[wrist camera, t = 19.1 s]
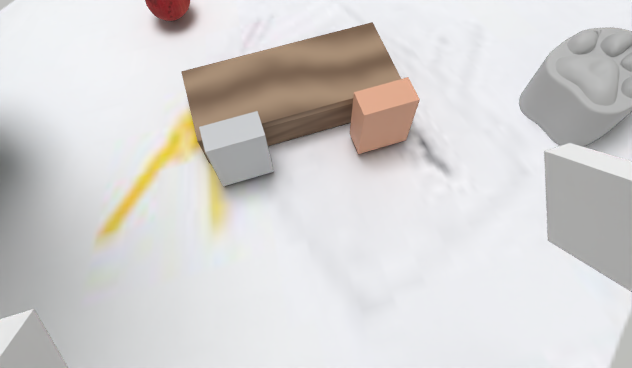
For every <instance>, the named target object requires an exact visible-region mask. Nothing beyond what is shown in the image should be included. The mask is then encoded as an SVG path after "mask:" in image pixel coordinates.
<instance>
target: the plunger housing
mask: <svg viewBox="0 0 632 368" xmlns="http://www.w3.org/2000/svg"><path fill="white" fill-rule="evenodd" d="M182 76H183V80H184V85H185V89H186V93H187V97H188V102H189V106H190V110H191V115H192V119H193V123H194V127H195V132H196V136H197V140H198V143H199V145H200V146H201V148H202V150H203V152H204V154H205V156H206V158H207V160H208V161H209V163H210V160H209V159H208V157H207V155H206V153H205V150H204V146H203V141H202V137H201V133H200V129H199V127H201V126H204V125H208V124H212V123H215V122H219V121H223V120H226V119H230V118H234V117H237V116H241V115H244V114H248V113H252V112H255V111H258V114H259V117H260V121H261V124H262V127H263V130H264V133H265V137H266V141H267V145H268V146H270V145H274V144H277V143H281V142H284V141H288V140H291V139H295V138H298V137H302V136H305V135H309V134H312V133H316V132H319V131H323V130H326V129H330V128H333V127H337V126H340V125H344V124H347V123H351V116H352V106H353V96H354V92H356V91H360V90H364V89H367V88H371V87H375V86H378V85H382V84H385V83H389V82H393V81H396V80H400V79H401V78H400V76H399V74H398V72H397V70H396V68H395V66H394V64H393V62H392V60H391V58H390V56H389V54H388V52H387V50H386V48H385V46H384V44H383V42H382V40H381V38H380V36H379V34H378V32H377V30H376V28H375V26H374V24H373V22H372V23H368V24H364V25H360V26H356V27H352V28H349V29H345V30H341V31H337V32H333V33H329V34H325V35H321V36H318V37H314V38H310V39H306V40H302V41H298V42H294V43H290V44H287V45H283V46H279V47H275V48H271V49H267V50H263V51H259V52H256V53H252V54H248V55H244V56H240V57H236V58H232V59H228V60H224V61H221V62H217V63H213V64H209V65H205V66H201V67H197V68H193V69H190V70H186V71H182Z"/></svg>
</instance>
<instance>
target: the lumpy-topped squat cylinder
mask: <svg viewBox="0 0 632 368" xmlns="http://www.w3.org/2000/svg"><path fill="white" fill-rule="evenodd" d="M519 106H520V109H521V111H522V112H523V114H524V115H525V116H527V117H528V118H529V119H531V120H532V121H534V122H535V123H536V124H538V125H539V126H540V127H541V128H542V129H543V130H544V131H545V133H546V134H547V135H548V136H549V137H550V138H551V139H552V140H553V141H554V142H555V143H556V144H558V145H560V146H562V145H565V144H568V143H572V144H575V145H579V146H582V147H584V146H586V145H589V144H590V143H592V142H594V141H596V140H597V139H599V138H601V137H602V136H603V135H605V134H606V133H607V132H609V131H610V130H611V129H612V128H613V127H614V126H616V125H617V124H618V123H619V122H620V121H621V120H622V119H624V118H625V117H626V116H627V115H628V114H629V113H630V112H632V31H629V30H625V29H620V28H594V29H588V30H584V31H581V32H579V33H577V34H576V35H574V36H572V37H570V38H569V39H567V40H565V41H564V42H563V43H561V44H560V45H559V46H558V47H556V48H555V49H554V50H553V51H552V52H551V53H550V54H549V55H548V56H547V57H546V59H545V61H544V62H543V63H542V65H541V66H540V68H539V69H538V71H537V72H536V73H535V75H534V76H533V78H532V79H531V81H530V82H529V84H528V85H527V87H526V88H525V89H524V91H523V92H522V94H521V96H520V99H519Z"/></svg>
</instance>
